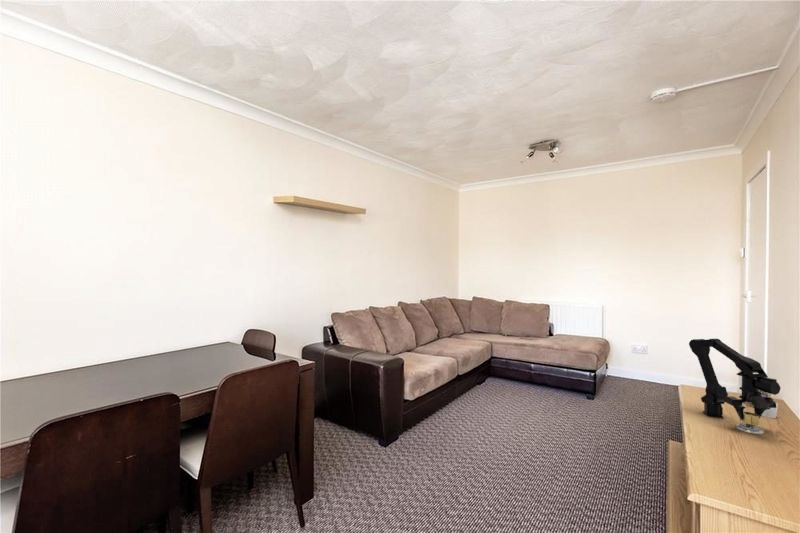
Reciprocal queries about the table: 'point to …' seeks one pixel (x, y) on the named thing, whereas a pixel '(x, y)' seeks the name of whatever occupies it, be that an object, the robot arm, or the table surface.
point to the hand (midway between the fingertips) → (749, 419)
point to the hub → (749, 428)
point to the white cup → (771, 412)
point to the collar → (750, 418)
